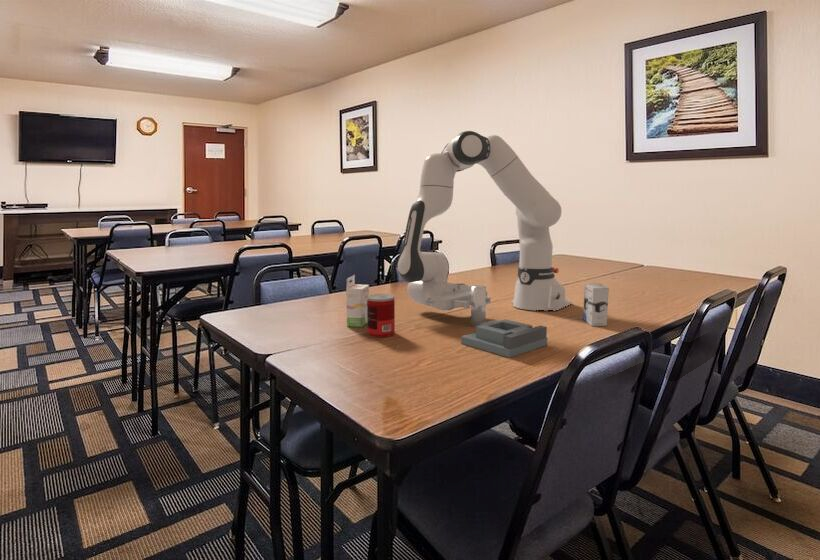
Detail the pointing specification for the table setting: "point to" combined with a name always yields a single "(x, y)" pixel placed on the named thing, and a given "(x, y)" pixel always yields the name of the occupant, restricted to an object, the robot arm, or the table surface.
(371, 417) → the table surface
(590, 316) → the ink box
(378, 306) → the canned food
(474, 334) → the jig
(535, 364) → the table surface
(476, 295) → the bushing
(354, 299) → the ink box
